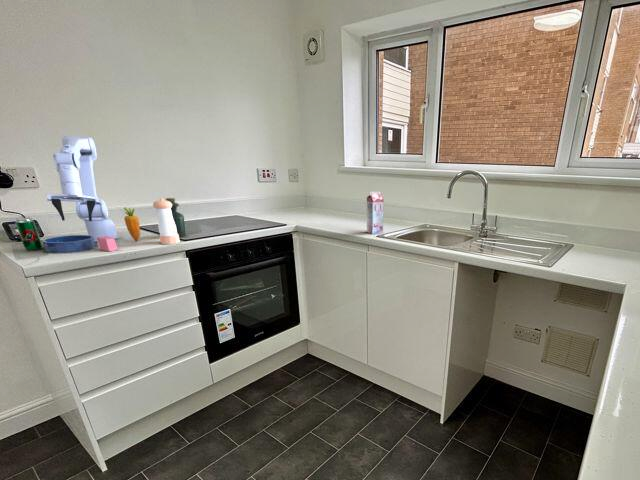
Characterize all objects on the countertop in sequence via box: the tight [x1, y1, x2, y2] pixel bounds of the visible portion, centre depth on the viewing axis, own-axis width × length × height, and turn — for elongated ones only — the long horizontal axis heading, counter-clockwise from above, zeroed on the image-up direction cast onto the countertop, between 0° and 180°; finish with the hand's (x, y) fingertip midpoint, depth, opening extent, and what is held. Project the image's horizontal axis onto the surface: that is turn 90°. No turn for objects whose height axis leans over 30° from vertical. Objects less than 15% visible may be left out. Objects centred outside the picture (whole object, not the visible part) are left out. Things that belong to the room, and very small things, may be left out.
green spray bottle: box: [165, 197, 187, 239], centre depth 166 cm, size 8×8×18 cm
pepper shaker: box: [152, 197, 181, 245], centre depth 154 cm, size 7×7×19 cm
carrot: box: [123, 206, 141, 242], centre depth 155 cm, size 5×5×15 cm
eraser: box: [97, 236, 118, 252], centre depth 141 cm, size 3×6×5 cm, turn 66°
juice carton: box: [366, 191, 384, 235], centre depth 193 cm, size 7×7×22 cm
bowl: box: [41, 234, 97, 254], centre depth 141 cm, size 15×15×4 cm
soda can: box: [15, 217, 44, 252], centre depth 136 cm, size 5×5×12 cm
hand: (77, 220), depth 134 cm, fingers open, 7 cm apart
